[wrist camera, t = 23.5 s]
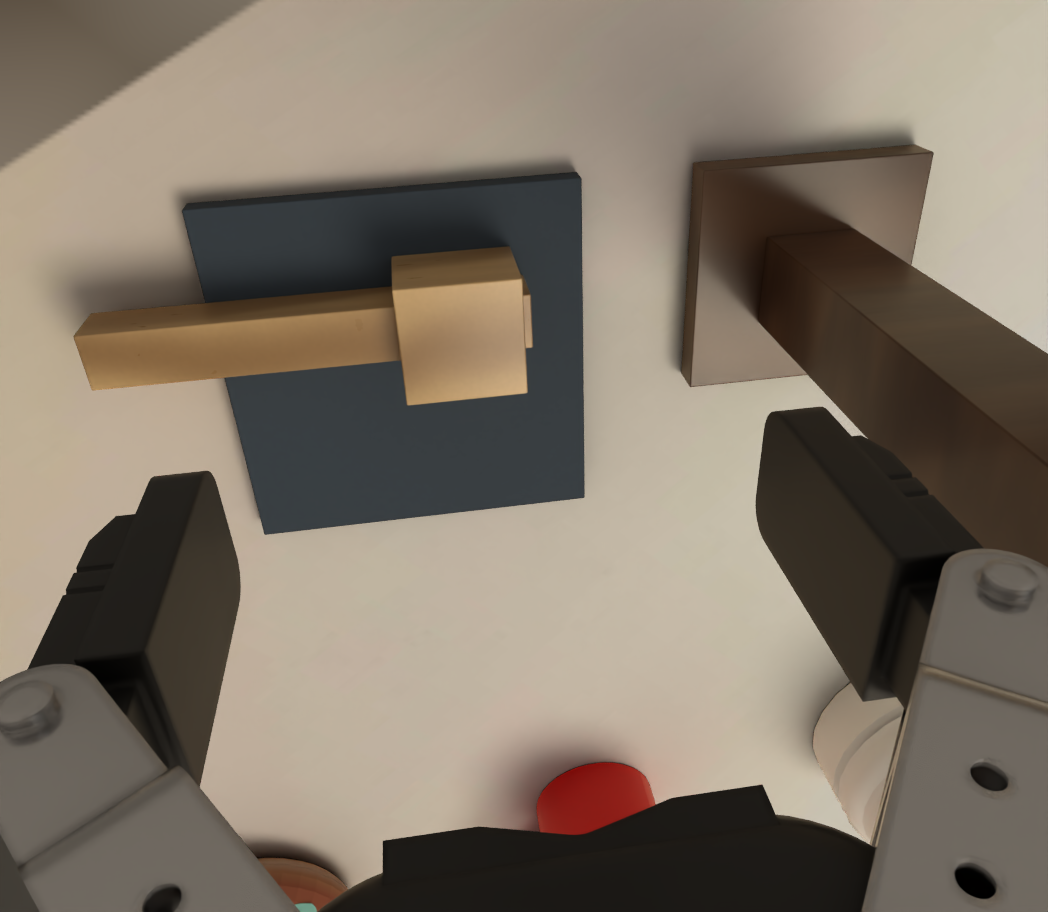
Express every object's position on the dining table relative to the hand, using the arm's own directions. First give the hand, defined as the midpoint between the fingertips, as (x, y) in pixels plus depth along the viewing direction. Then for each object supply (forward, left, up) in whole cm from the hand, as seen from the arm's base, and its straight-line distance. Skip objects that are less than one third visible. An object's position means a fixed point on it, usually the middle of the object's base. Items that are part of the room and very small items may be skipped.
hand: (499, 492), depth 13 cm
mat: (+10, -2, -26) cm, 28 cm away
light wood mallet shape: (+7, -5, -25) cm, 27 cm away
